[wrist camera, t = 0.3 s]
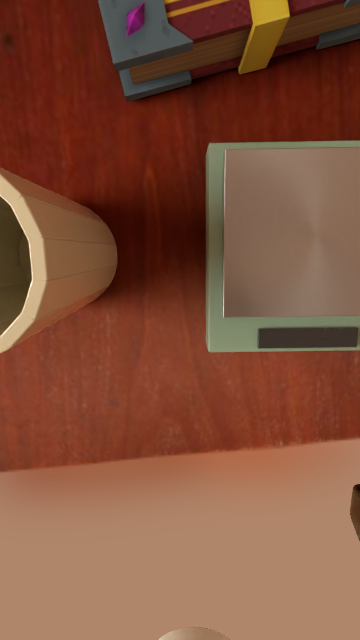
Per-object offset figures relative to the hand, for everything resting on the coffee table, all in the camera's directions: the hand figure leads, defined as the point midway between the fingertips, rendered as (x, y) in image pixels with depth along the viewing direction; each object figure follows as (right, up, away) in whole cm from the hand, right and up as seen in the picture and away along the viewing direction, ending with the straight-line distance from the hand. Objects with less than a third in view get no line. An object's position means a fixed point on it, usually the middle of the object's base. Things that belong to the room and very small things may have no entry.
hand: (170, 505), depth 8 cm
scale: (+8, +9, +14) cm, 18 cm away
